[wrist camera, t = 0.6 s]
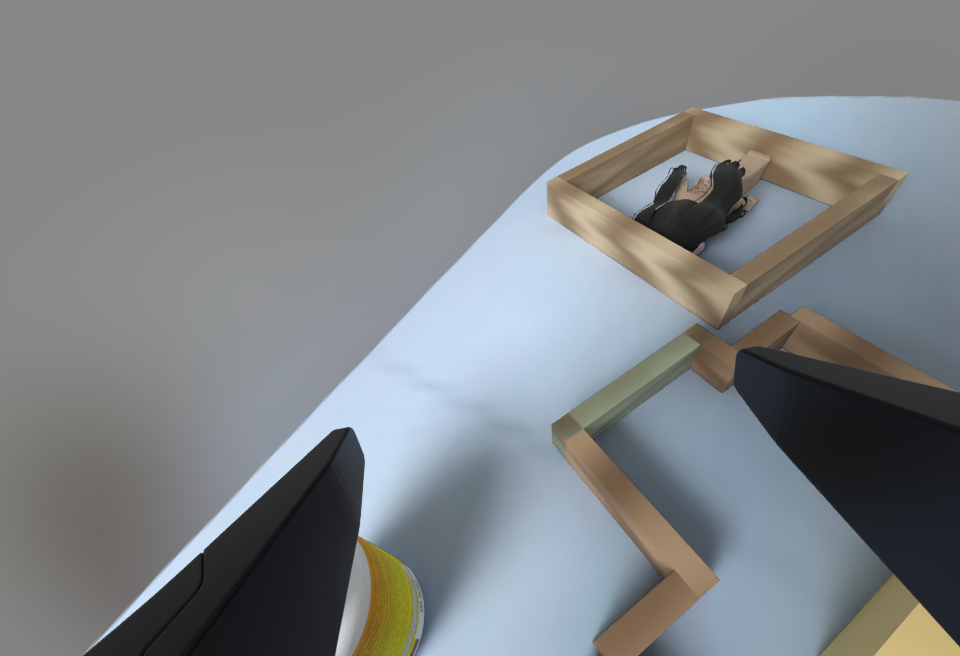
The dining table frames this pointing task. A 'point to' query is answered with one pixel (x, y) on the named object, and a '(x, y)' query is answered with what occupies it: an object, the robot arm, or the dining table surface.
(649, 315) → the dining table surface
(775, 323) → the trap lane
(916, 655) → the block
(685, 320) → the dining table surface
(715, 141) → the fence
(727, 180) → the toy figure
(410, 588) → the supplement bottle
